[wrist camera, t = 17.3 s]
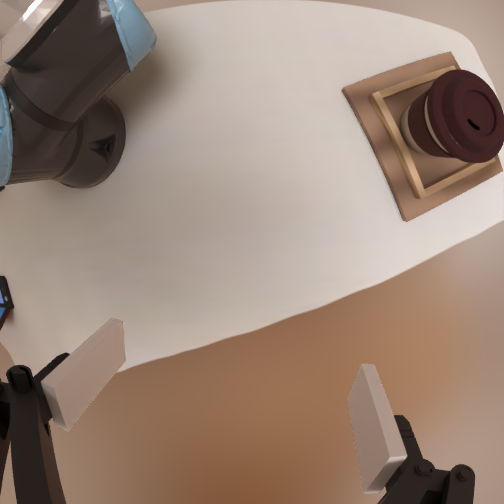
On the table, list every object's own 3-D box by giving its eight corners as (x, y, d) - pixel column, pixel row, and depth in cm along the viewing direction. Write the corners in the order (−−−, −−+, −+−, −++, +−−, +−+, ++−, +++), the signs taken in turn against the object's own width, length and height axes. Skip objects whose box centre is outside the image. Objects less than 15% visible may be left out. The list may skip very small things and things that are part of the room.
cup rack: (342, 90, 37) (346, 83, 33) (446, 54, 33) (456, 47, 29) (403, 220, 40) (412, 224, 37) (497, 170, 36) (510, 171, 33)
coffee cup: (429, 86, 34) (484, 55, 19) (461, 147, 35) (526, 142, 21) (377, 111, 36) (421, 81, 21) (411, 176, 37) (469, 179, 23)
